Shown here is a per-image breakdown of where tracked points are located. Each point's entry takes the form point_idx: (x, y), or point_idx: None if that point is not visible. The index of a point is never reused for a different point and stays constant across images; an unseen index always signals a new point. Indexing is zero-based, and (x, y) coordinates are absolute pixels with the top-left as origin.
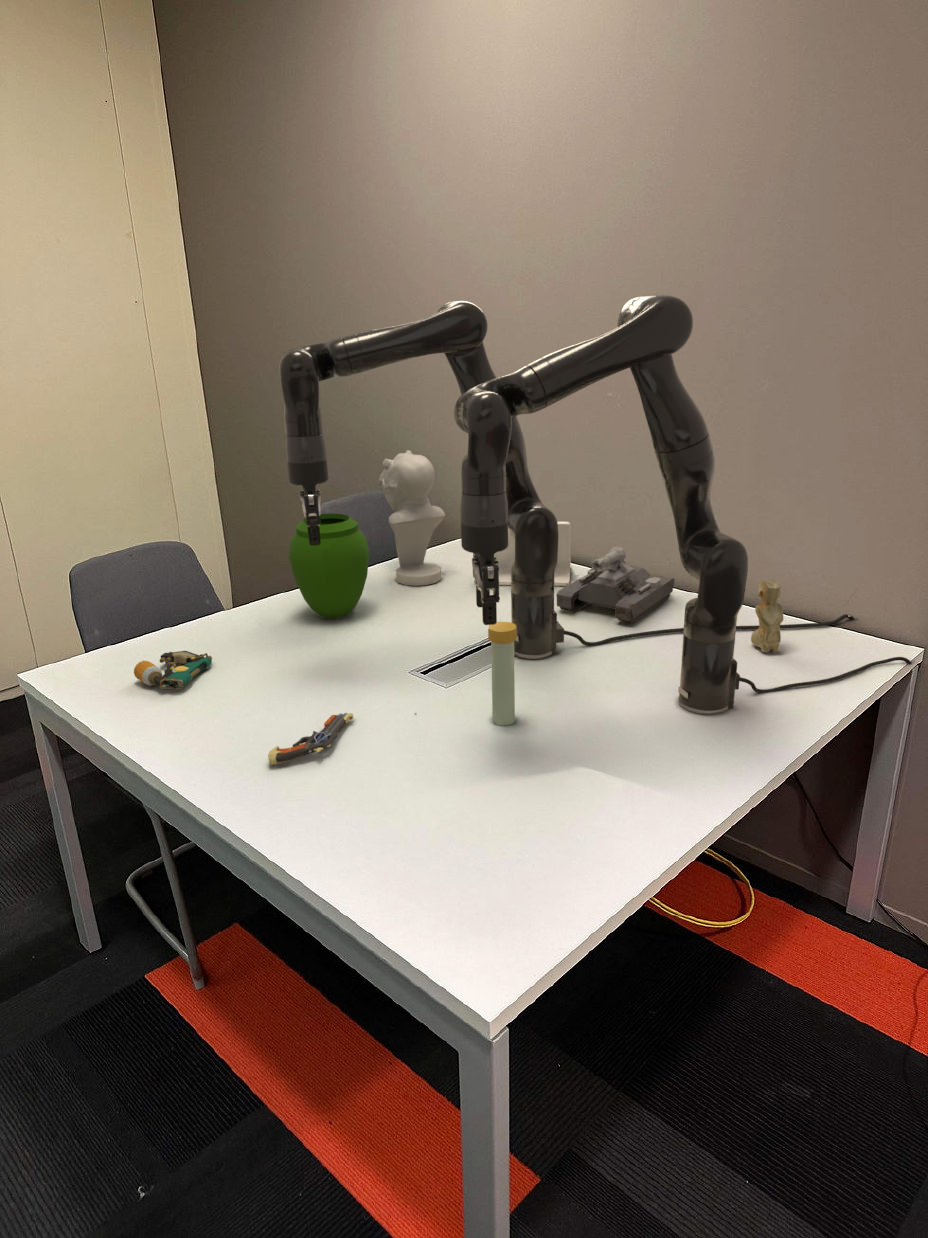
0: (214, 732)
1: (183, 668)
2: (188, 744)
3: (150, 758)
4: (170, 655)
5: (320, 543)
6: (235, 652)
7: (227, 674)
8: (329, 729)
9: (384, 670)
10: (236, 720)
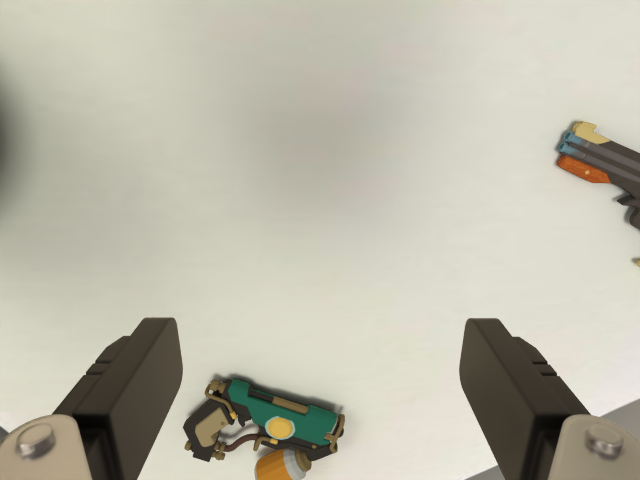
0: None
1: (280, 425)
2: None
3: None
4: (208, 448)
5: (494, 318)
6: None
7: (273, 347)
8: (636, 175)
9: (336, 19)
10: None
